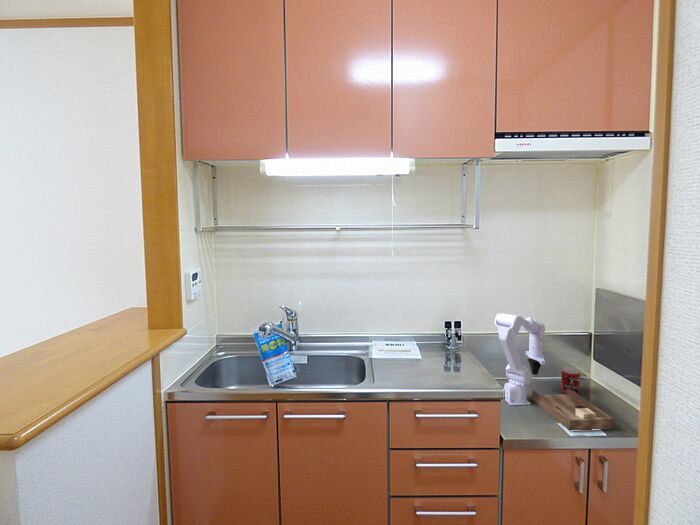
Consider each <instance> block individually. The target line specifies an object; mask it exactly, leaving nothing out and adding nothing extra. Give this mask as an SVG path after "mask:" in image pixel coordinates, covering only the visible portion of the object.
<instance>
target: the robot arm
mask: <svg viewBox="0 0 700 525" xmlns="http://www.w3.org/2000/svg"><path fill="white" fill-rule="evenodd" d="M494 327H495V330H496V332H497V334H498V339H499V342H500V344H501V347H502V349H503V352H504V355H505V358H506V360H507V365H506V367H505V375H506V378H507V379H508V382H505V383H504V386H503V391H504V390H505V399H504V401H506V403H508V404H509V405H510V406H526V405H527V406H528V405H531V402H530V401H529V400H528V385H529V384H530V383H531V382H532V378H533V376H537V375H538V374H539V371H540V369H541V366H542V365H543V366H544V365H545V366H546V360H545V359H544V358H545V355H544V354H543V339H544V336H545V332H546V326H545V324H544V323H542V322H537V320H535V319H533V318H532V317H529V316H528V317H526V318H525V317H522V316H520V315H515V314H510V313H504V312H498V313H497V314H496V315H495V319H494ZM521 329H522V330H524V331H527V333H528V334H529V339H528V350H526V351H525V356H527V357H528V358H527V361H528V363H529V368H530V370H529V368H528V367H527V366H525V364H523V363H522V361H521V357H520V355H519V351H518V349H517V346H516V343H515V340H514V338H516V337H517V336H518V334H519V332H520V330H521Z"/></svg>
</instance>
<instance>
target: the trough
mask: <svg viewBox="0 0 700 525" xmlns="http://www.w3.org/2000/svg"><path fill="white" fill-rule="evenodd" d="M531 400H532V402H534V403H535V404H536V405H537V406H538V407H539V408H541V409H542V410H543V411H545V413H546V414H548V415H549V416H550V417H552V418H553V420H555V419H556V420H557V421H556V420H555V421H556V422H557V423H559V424H560V423H561V424H562V425H563V426H562V425H561V424H560V425H561V426H562V427H564V426H565V427H566V428H567V429H568V430H570V431H571V430H592V429H612V430H614V425H615V424H614V423H615V422H614V419H615V418H614V417H612V416H611V415H609V414H608V413H606V412H605V411H603V410H602V409H600V408H598V406H596V405H594V404H593V403H592V402H590V401H588V400H587V399H585V398H583V396H581V395H579V393H578V394H576V393H575V392H573V391H572V390H570V389H567V393H564V394H563V393H562V394H539V393H538V392H537V391H535V390H531ZM578 408H588V409H589V410H591V411H592V412H594V413H595V414H596V416H595V418H589V419H576V418H575V414H576V409H578ZM565 427H564V428H565ZM566 428H565V429H566ZM567 429H566V430H567ZM568 430H567V431H568Z"/></svg>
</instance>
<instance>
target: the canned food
mask: <svg viewBox="0 0 700 525" xmlns="http://www.w3.org/2000/svg"><path fill="white" fill-rule="evenodd" d="M580 374H581V371H580V369H578V368H575V367H572V366H571V367H570V366H564V367H562V368H561V386H560V387H561V388H560V389H561V391H562V392H563V393H564V394H567V389H570V390H572V391H573V392H575V393H576V394H578V395H579V393H580V382H581V380H580V379H581V378H580Z"/></svg>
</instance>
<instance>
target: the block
mask: <svg viewBox="0 0 700 525" xmlns="http://www.w3.org/2000/svg"><path fill="white" fill-rule="evenodd" d="M595 416H596V414H595V413H594V412H592V411H591V410H589V409H588V408H578V409H576V414H575V418H576V419H589V418H595Z"/></svg>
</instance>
